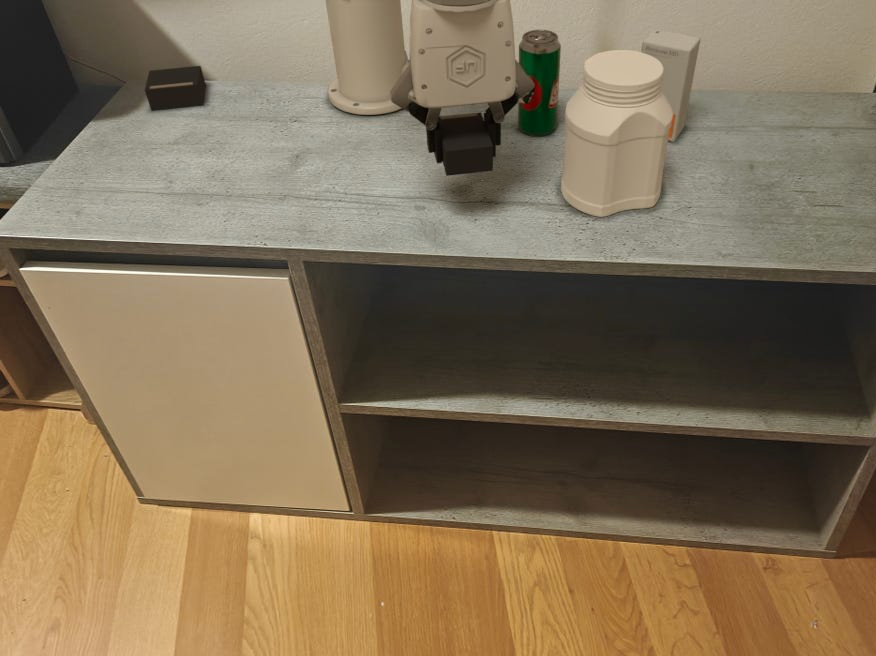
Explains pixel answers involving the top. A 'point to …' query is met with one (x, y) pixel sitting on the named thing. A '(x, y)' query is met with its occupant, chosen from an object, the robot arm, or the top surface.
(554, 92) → the soda can
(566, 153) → the jar
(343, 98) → the robot arm
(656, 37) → the cosmetic box
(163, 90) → the charcoal pad
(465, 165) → the black box
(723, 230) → the top surface
